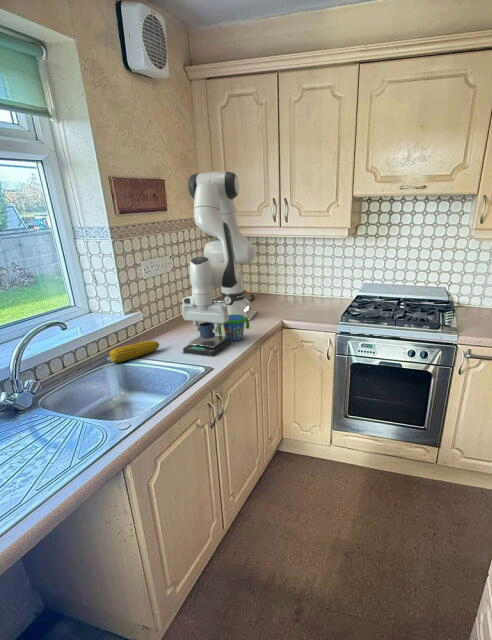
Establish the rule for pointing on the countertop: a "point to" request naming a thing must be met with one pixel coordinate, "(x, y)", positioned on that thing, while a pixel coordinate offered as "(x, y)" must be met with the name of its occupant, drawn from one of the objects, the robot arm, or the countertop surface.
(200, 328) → the dark blue faceted pot
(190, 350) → the scale
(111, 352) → the food
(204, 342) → the scale pan
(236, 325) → the snack cup
